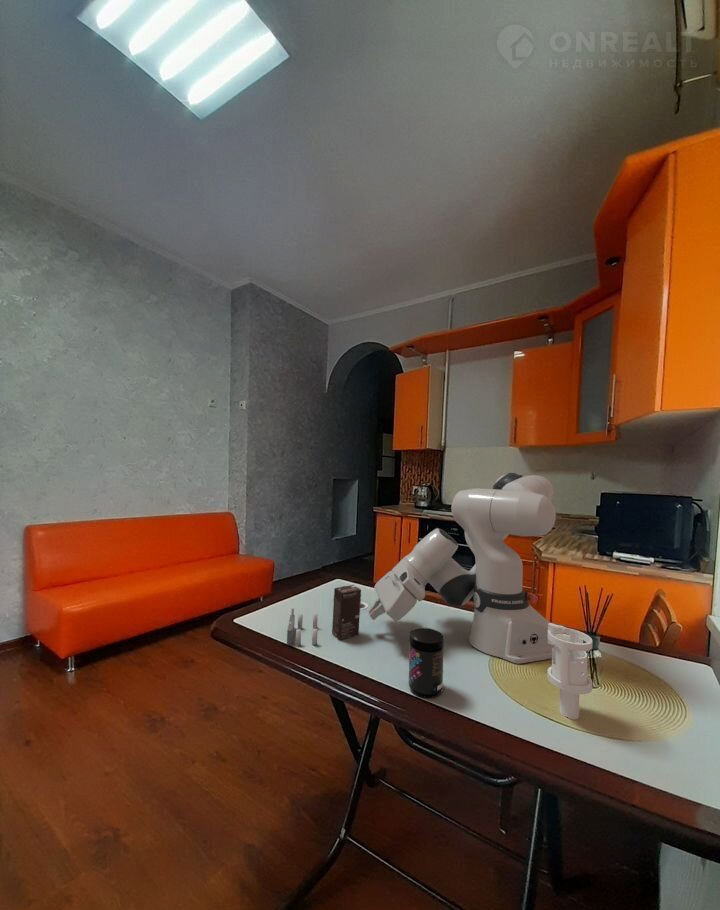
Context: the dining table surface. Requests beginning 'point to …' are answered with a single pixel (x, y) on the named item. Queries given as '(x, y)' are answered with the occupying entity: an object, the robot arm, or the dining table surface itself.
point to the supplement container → (426, 662)
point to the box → (346, 612)
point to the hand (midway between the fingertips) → (370, 615)
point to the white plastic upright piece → (569, 668)
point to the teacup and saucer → (364, 604)
